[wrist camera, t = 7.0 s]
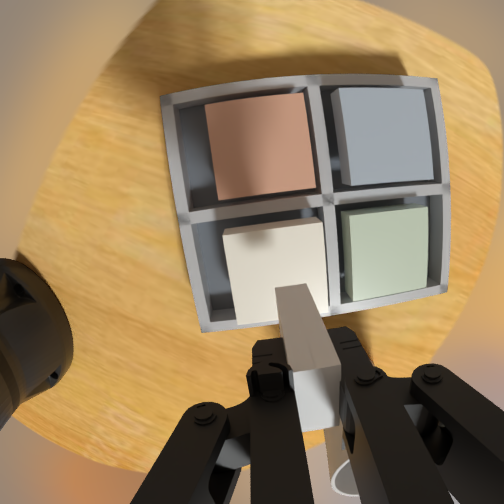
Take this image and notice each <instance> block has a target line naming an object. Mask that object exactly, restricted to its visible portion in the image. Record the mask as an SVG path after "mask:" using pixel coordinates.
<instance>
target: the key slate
mask: <svg viewBox="0 0 504 504" xmlns="http://www.w3.org/2000/svg"><path fill="white" fill-rule="evenodd" d="M330 96H331V102H332V108H333V115H334V122H335V129H336V136H337V144H338V152H339V160H340V169H341V179H342V184H346V185H350V186H354V185H365V184H376V183H388V182H401V181H414V180H430V179H434V177H433V163H432V151H431V142H430V133H429V125H428V118H427V111H426V104H425V98H424V92H423V90H418V89H400V88H338V89H337V90H335V91H334V92H333V93H331V94H330Z"/></svg>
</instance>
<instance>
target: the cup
mask: <svg viewBox="0 0 504 504" xmlns="http://www.w3.org/2000/svg"><path fill="white" fill-rule="evenodd" d="M370 361H371V360H370ZM371 363H372V365H373V366H374V364H373V362H372V361H371ZM342 432H343V425H342V421H341V418H340V425H339V426H335V427H330V428H325V429H324V435H325V442H326V449H327V457H328V465H329V474H330V482H331V487H332V489H333V490H334V491H335V492H337V493H339V494H341V495H345V496H359V493H358V489H357V485H356V482H355V478H354V475H353V471H352V468H351V464H350V461H349V457H348V454H347V450H346V447H345V450H342Z"/></svg>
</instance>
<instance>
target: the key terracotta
mask: <svg viewBox="0 0 504 504" xmlns="http://www.w3.org/2000/svg"><path fill="white" fill-rule="evenodd" d="M205 111H206V118H207V125H208V133H209V140H210V147H211V153H212V160H213V167H214V174H215V180H216V187H217V194H218V200H225V199H232V198H239V197H246V196H253V195H261V194H268V193H276V192H284V191H292V190H301V189H309V188H316V184H315V175H314V166H313V158H312V150H311V143H310V135H309V128H308V121H307V115H306V108H305V101H304V95H303V93H294V94H282V95H272V96H262V97H254V98H246V99H239V100H232V101H225V102H219V103H212V104H207V105H205Z"/></svg>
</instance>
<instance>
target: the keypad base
mask: <svg viewBox="0 0 504 504" xmlns="http://www.w3.org/2000/svg"><path fill="white" fill-rule="evenodd" d="M338 88H400V89H418V90H423V92H424V98H425V104H426V111H427V118H428V125H429V133H430V142H431V151H432V163H433V177H434V179H430V180H414V181H401V182H388V183H376V184H365V185H354V186H350V185H346V184H342V179H341V169H340V160H339V152H338V144H337V136H336V129H335V122H334V115H333V108H332V102H331V96H330V94H331V93H333V92H334V91H335V90H337V89H338ZM294 93H303V95H304V101H305V108H306V115H307V121H308V128H309V135H310V143H311V150H312V158H313V166H314V175H315V184H316V188H309V189H301V190H292V191H284V192H276V193H268V194H261V195H253V196H246V197H239V198H232V199H225V200H218V194H217V187H216V180H215V174H214V167H213V160H212V153H211V147H210V140H209V133H208V125H207V118H206V111H205V105H207V104H212V103H219V102H225V101H232V100H239V99H246V98H254V97H262V96H272V95H282V94H294ZM160 102H161V111H162V119H163V126H164V134H165V141H166V148H167V155H168V162H169V168H170V175H171V181H172V187H173V193H174V199H175V205H176V211H177V216H178V222H179V227H180V233H181V238H182V243H183V248H184V253H185V258H186V263H187V268H188V273H189V278H190V283H191V287H192V292H193V297H194V301H195V306H196V310H197V314H198V319H199V323H200V327H201V332H202V333H205V332H215V331H224V330H233V329H241V328H250V327H258V326H265V325H273V324H279V320H274V321H267V322H259V323H252V324H243V325H238V324H237V318H236V313H235V307H234V301H233V296H232V290H231V284H230V278H229V272H228V267H227V261H226V255H225V249H224V243H223V236H222V235H223V232H224V230H225V229H227V228H234V227H241V226H249V225H256V224H263V223H271V222H278V221H286V220H294V219H301V218H309V217H317V218H318V219H319V220H320V221H322V222H323V233H324V245H325V258H326V273H327V290H328V311H329V312H328V313H321V314H320V316H321V317H326V316H332V315H338V314H344V313H349V312H355V311H360V310H366V309H371V308H376V307H381V306H386V305H391V304H396V303H401V302H406V301H410V300H415V299H419V298H424V297H428V296H433V295H437V294H441V293H445V292H447V288H448V277H449V262H450V239H451V197H450V174H449V160H448V148H447V138H446V130H445V122H444V115H443V108H442V102H441V96H440V90H439V85H438V80H437V78H427V77H416V76H403V75H385V74H317V75H299V76H285V77H273V78H263V79H254V80H246V81H239V82H232V83H225V84H218V85H212V86H207V87H201V88H195V89H190V90H185V91H180V92H176V93H171V94H166V95H162V96H160ZM409 203H416V204H420V205H423V206H426V207H428V265H427V284H426V287H425V288H420V289H416V290H411V291H406V292H401V293H396V294H391V295H386V296H380V297H375V298H370V299H364V300H359V301H352V299H351V298H350V297H349V295H348V294H347V292H346V291H345V271H344V251H343V235H342V221H341V211H345V210H354V209H362V208H371V207H381V206H390V205H399V204H409Z"/></svg>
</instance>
